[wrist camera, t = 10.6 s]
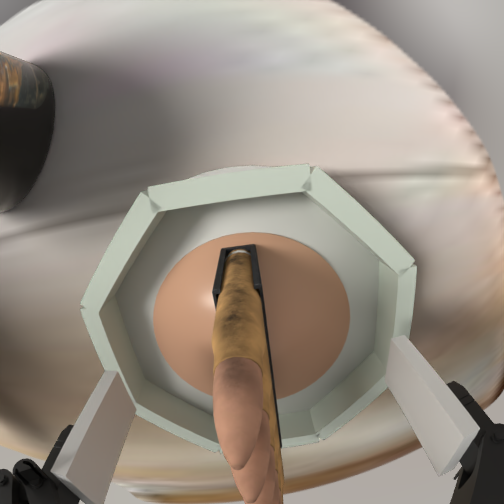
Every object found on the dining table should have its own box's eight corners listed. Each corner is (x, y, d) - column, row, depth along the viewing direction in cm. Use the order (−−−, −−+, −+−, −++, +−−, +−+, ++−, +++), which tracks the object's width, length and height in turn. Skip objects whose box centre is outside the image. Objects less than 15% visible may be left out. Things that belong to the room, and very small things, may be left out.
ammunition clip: (274, 393, 18) (296, 555, 7) (248, 397, 18) (254, 558, 7) (255, 243, 15) (287, 435, 4) (220, 247, 15) (171, 441, 4)
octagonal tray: (157, 419, 21) (147, 453, 17) (83, 196, 16) (48, 205, 12) (375, 393, 21) (392, 424, 17) (384, 154, 16) (419, 153, 12)
